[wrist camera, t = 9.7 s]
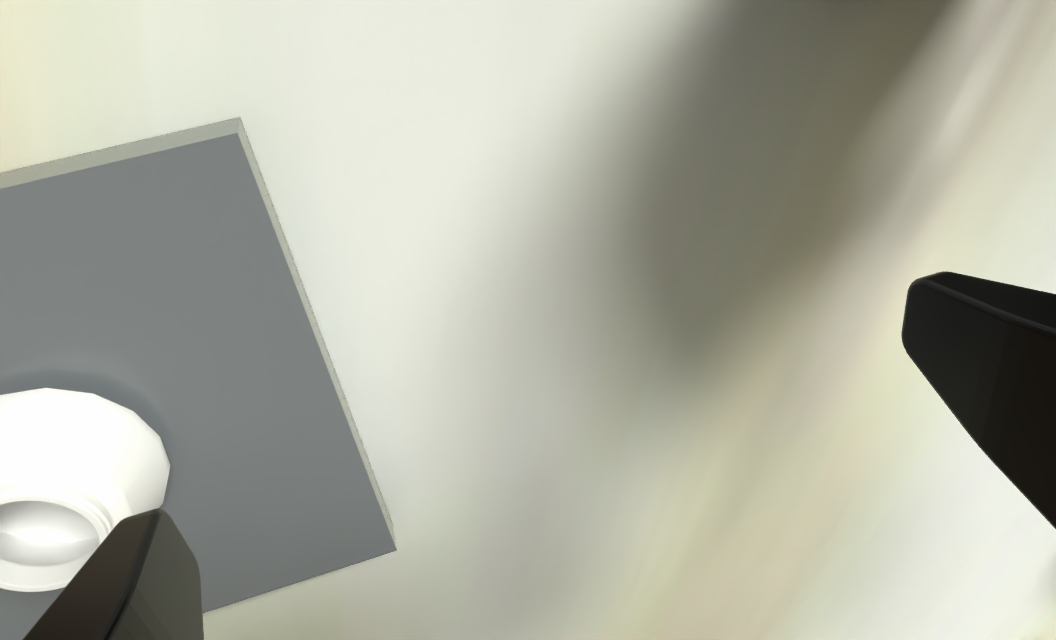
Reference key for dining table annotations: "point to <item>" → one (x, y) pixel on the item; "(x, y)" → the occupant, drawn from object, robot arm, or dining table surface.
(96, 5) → the dining table surface
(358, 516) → the coaster
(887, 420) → the dining table surface
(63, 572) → the white jar
